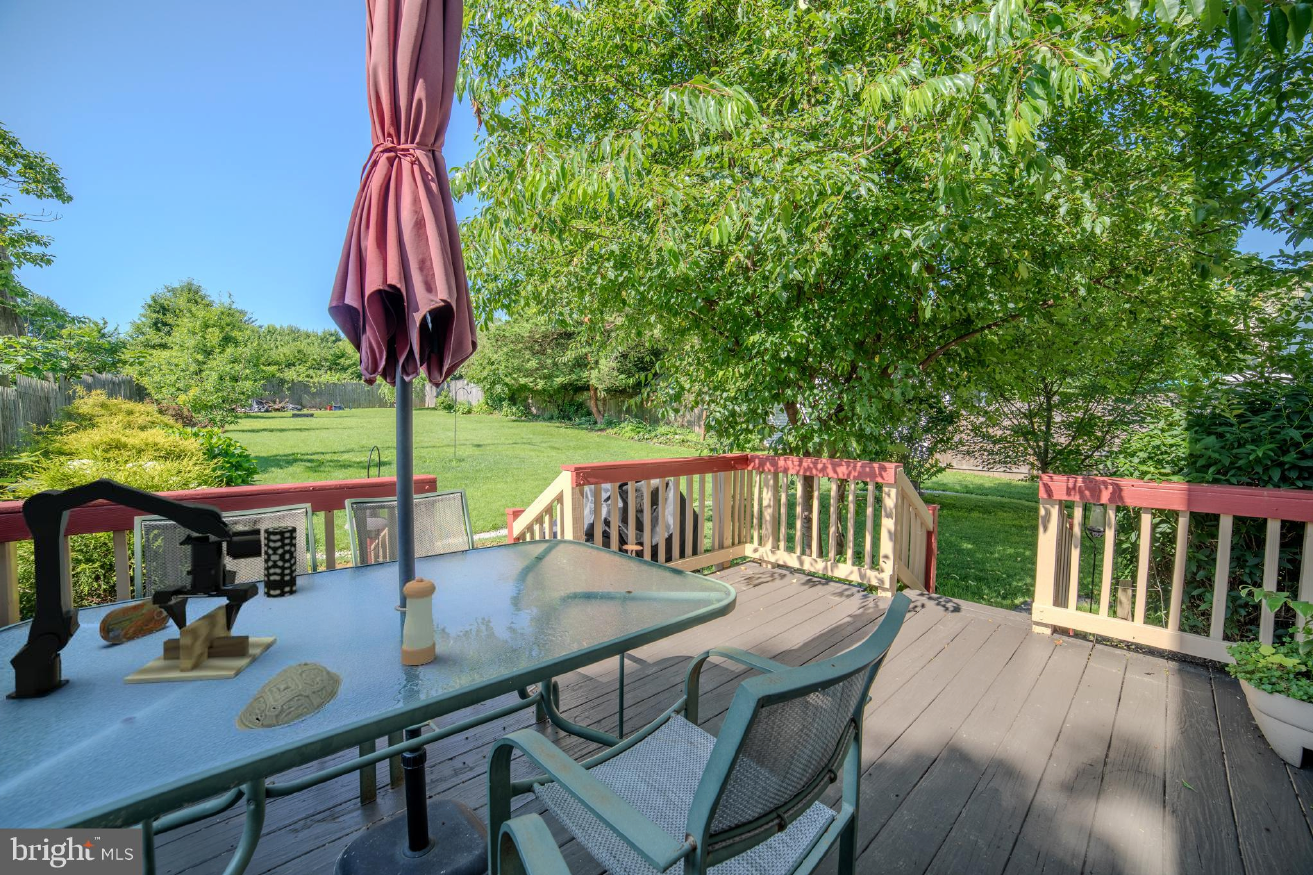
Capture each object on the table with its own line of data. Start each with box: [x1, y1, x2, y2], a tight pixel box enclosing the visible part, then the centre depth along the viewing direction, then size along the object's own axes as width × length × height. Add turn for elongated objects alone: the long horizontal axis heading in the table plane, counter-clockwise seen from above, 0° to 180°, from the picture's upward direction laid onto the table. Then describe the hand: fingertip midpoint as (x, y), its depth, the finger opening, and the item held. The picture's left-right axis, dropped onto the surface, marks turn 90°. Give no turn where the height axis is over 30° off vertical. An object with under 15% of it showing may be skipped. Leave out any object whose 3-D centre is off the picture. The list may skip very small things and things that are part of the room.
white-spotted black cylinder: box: [263, 525, 298, 599], centre depth 177 cm, size 8×8×20 cm
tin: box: [98, 598, 171, 645], centre depth 142 cm, size 15×3×8 cm, turn 168°
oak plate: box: [179, 604, 232, 672], centre depth 130 cm, size 16×2×9 cm, turn 11°
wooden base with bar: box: [123, 635, 277, 685], centre depth 130 cm, size 20×20×5 cm
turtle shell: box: [235, 661, 343, 732], centre depth 114 cm, size 16×25×7 cm, turn 10°
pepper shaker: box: [400, 576, 437, 666], centre depth 133 cm, size 7×7×19 cm
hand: (206, 631), depth 130 cm, fingers open, 9 cm apart
